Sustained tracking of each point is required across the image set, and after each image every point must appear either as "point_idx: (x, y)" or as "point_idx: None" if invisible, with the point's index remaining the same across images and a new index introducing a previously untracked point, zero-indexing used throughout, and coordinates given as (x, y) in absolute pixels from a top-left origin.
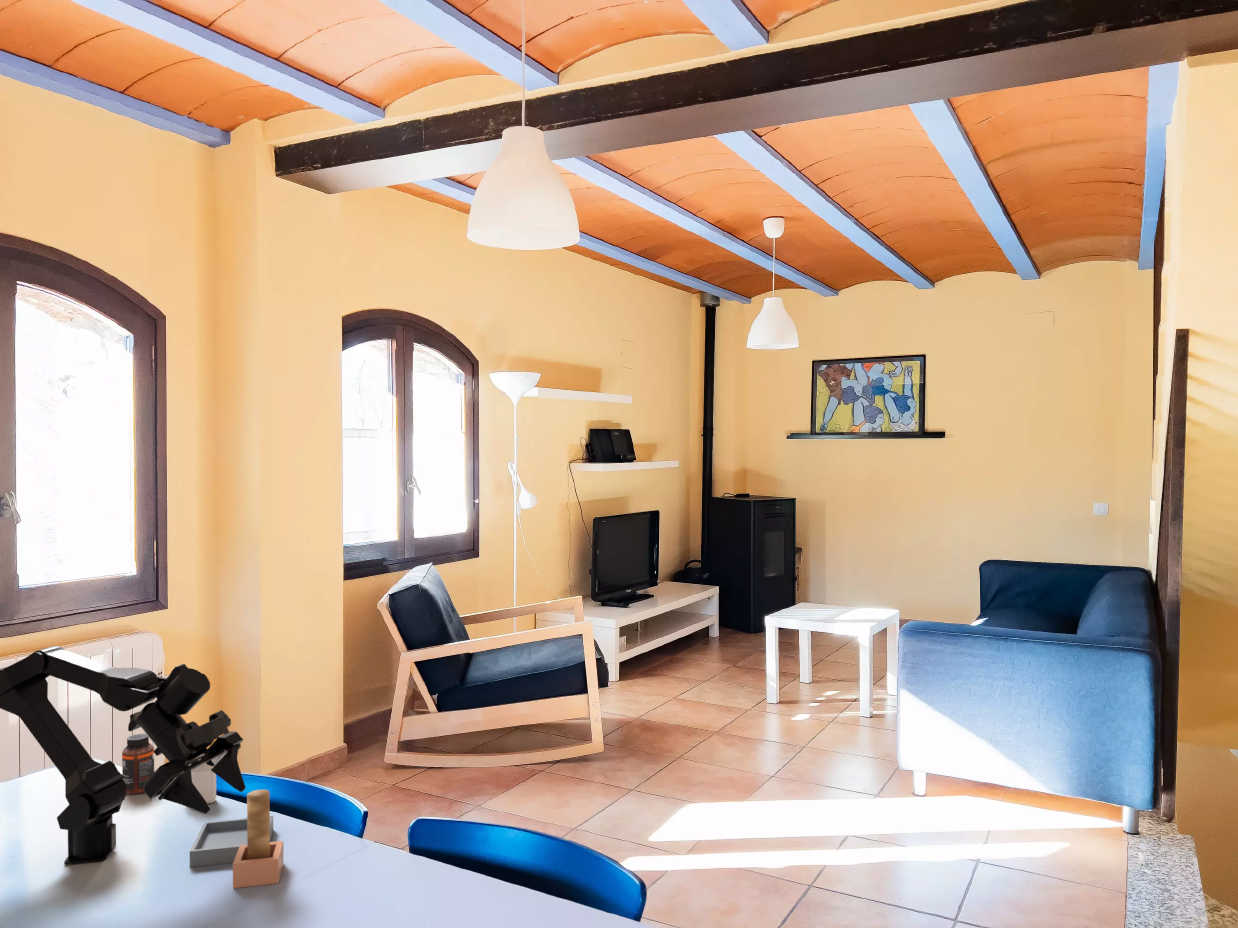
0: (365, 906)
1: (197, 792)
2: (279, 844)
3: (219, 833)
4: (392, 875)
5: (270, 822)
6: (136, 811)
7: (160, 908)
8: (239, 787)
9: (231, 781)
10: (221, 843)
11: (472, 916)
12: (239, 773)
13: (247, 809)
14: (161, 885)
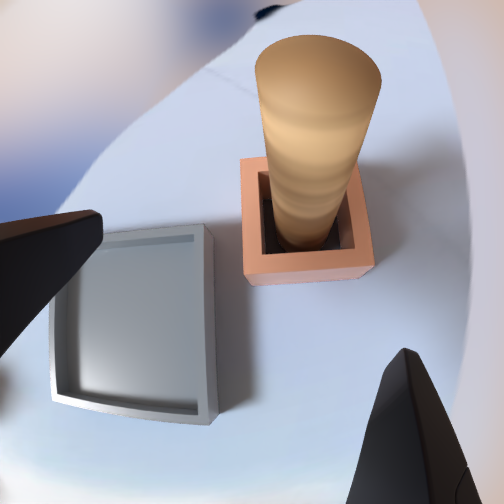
0: (416, 64)
1: (446, 468)
2: (262, 164)
3: (82, 364)
4: None
5: None
6: (3, 488)
7: None
8: (85, 242)
9: (40, 288)
10: (132, 353)
11: (415, 3)
12: (14, 226)
13: (342, 157)
14: (307, 453)
